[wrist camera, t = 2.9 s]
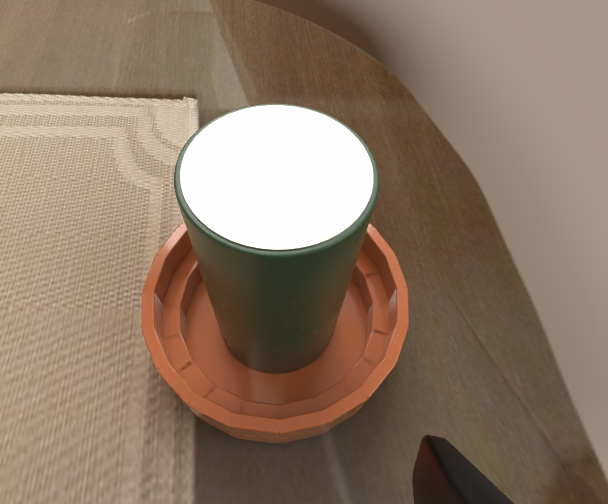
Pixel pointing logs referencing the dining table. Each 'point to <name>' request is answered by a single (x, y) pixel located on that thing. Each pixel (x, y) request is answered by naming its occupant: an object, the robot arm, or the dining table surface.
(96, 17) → the dining table surface
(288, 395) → the bowl
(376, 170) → the tin
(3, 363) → the dining table surface
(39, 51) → the dining table surface
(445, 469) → the robot arm
